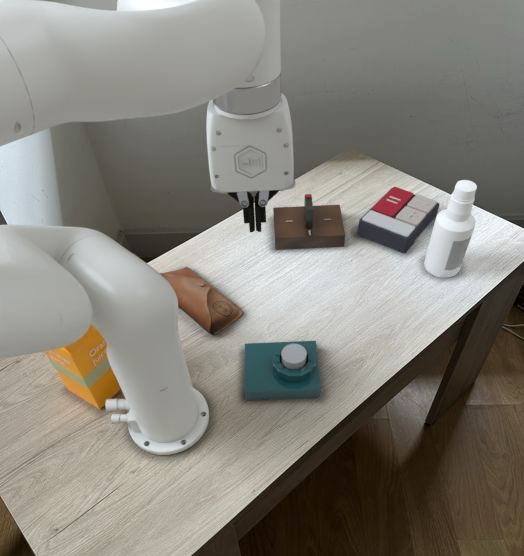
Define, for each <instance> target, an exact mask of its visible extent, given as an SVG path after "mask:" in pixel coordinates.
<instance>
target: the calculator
mask: <svg viewBox="0 0 524 556" xmlns="http://www.w3.org/2000/svg"><path fill="white" fill-rule="evenodd" d="M439 208H440V203H439V202H438V201H437V200H435V199H432V198H429V197H426V196H423V195H420V194H415V193H414V192H412V191H409V190H406V189H403V188H400V187H398V186H393V187H391V188H390V189H389V190H388V191H386V193H385V194H383V196H382V197H381V198H379V200H378V201H377V202H376V203H375V204H374V205H373V206H372V207H371V208H370V209H369V210H368V211H367V212H366V213H365V214H363V216H361V217H360V218H359V220H358V226H357V232H356V233H357V234H356V235H357V236H360V237H362V238H364V239H367V240H369V241H372V242H374V243H376V244H379V245H382V246H385V247H387V248H389V249H392V250H395V251H396V252H399V253H402V254H406V253H408V251H409V250H410V249H411V248H412V246H413V245H414V244H415V242H416V240H417V239H418V238H419V237H420V235H421V234H422V233H423V232H424V231H425V230H426V229H427V227H428V226H429V225H430V224H431V223H432V222H433V220H434V219H436V216H437V214H438V213H439Z"/></svg>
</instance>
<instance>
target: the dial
mask: <svg viewBox="0 0 524 556" xmlns="http://www.w3.org/2000/svg"><path fill="white" fill-rule="evenodd" d="M303 206H304V217H305V228H312V227H313V206H314V204H313V196H312V194H311V193H305V194H304V203H303Z"/></svg>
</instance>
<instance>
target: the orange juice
mask: <svg viewBox="0 0 524 556" xmlns="http://www.w3.org/2000/svg"><path fill="white" fill-rule="evenodd" d="M106 350H107V343H106V341H105V340H104V338H103V337H102V335H101V334H100V333H99V332H98V331H97V330H96V329H95V328H94V326H92V325H90V327H89V329H88V330H87V332H86V333H85V334H84V335H83V336H82V337H81V338H80V339H79V340H77V341H76V342H74V343H72V344H70V345H68V346H65V347H62V348H59V349H55V350H50V351H44V353H45V354H46V356H47V357H48V360H49V361H50V363H51V365H52V367H53V368H54V369H55V371H56V373H57V374H58V376H59V378H60V380H61V381H62V382H63V384H64V386H65V387H66V389H67V390H68V391H69V392H71V393H72V394H74V395H76V396H78V397H79V398H80V399H82V400H84V401H85V402H87V403H89V404H90V405H92V406H93V407H94V408H97V410H101V409H103V407H104V406H105V403H106V400H107V399H113V398H114V396H115V395H116V394H117V393H118V392H119V391H120V390H122V389H121V387H120V385H119V383H118V381H117V378H116V376H115V375H114V372H113V370H112V368H111V366H110V363H109V360H108V357H107V351H106Z"/></svg>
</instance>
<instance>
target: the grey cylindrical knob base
mask: <svg viewBox="0 0 524 556" xmlns="http://www.w3.org/2000/svg"><path fill="white" fill-rule="evenodd" d="M289 344H299V345H301V346H303V347H304V348H305V349H306V352H307V360H306V364H305V365H304V366H303V367H302V368H300V369H297V370H291V369H288V368H286V367H285V366H284V365H283V364H282V359H281V352H282V350H283V348H284V347H285V346H287V345H289ZM244 398H245V401H259V400H264V401H265V400H285V399H311V398H322V384H321V374H320V364H319V356H318V346H317V340H299V341H296V340H295V341H275V342H274V341H273V342H252V343H249V342H248V343H244Z"/></svg>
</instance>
